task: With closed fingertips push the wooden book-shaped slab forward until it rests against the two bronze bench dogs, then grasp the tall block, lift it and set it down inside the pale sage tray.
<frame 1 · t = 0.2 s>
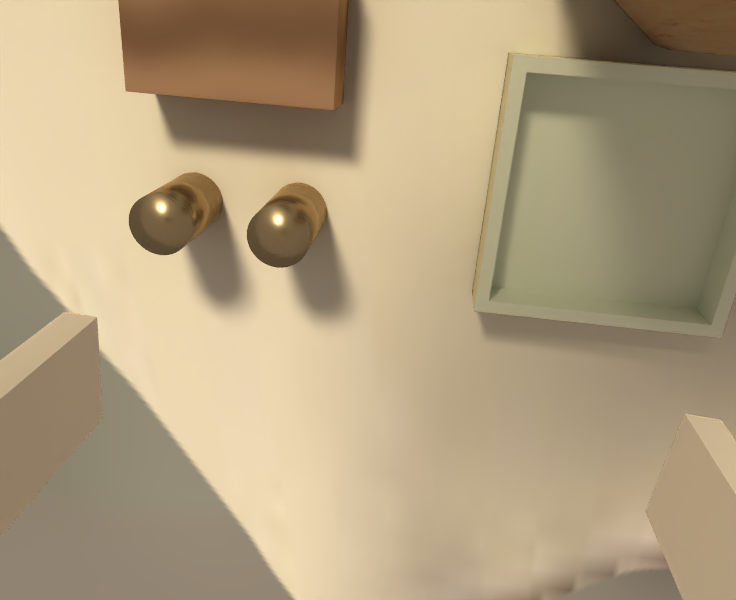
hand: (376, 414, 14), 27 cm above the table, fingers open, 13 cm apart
tray: (611, 193, 39), on the table
wooden book-shaped slab: (248, 23, 37), on the table
bench dogs: (247, 204, 41), on the table
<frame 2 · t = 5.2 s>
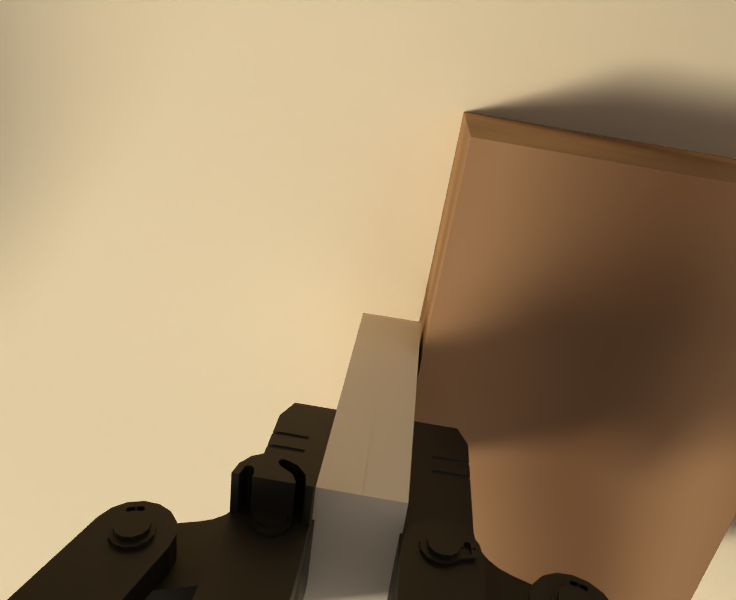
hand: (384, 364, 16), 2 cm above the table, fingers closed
wooden book-shaped slab: (556, 348, 18), on the table, touching gripper
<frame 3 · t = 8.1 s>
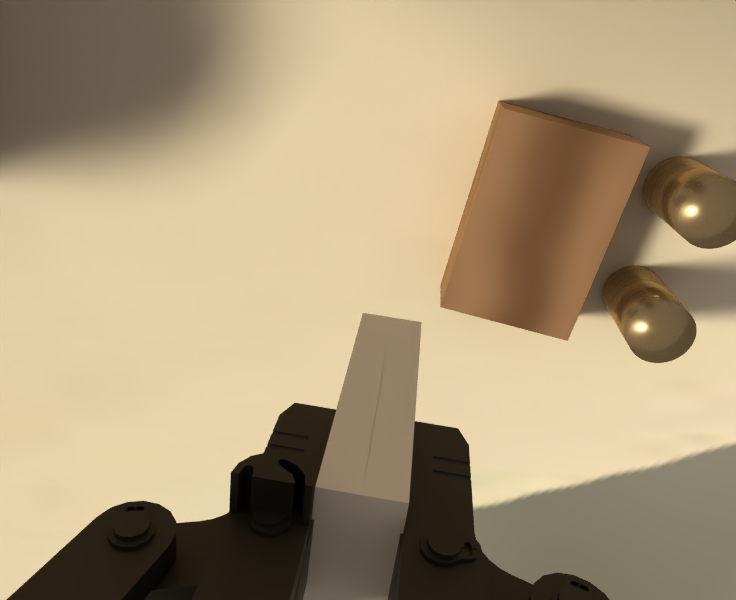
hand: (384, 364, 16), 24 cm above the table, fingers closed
wooden book-shaped slab: (529, 213, 39), on the table
bench dogs: (652, 241, 39), on the table
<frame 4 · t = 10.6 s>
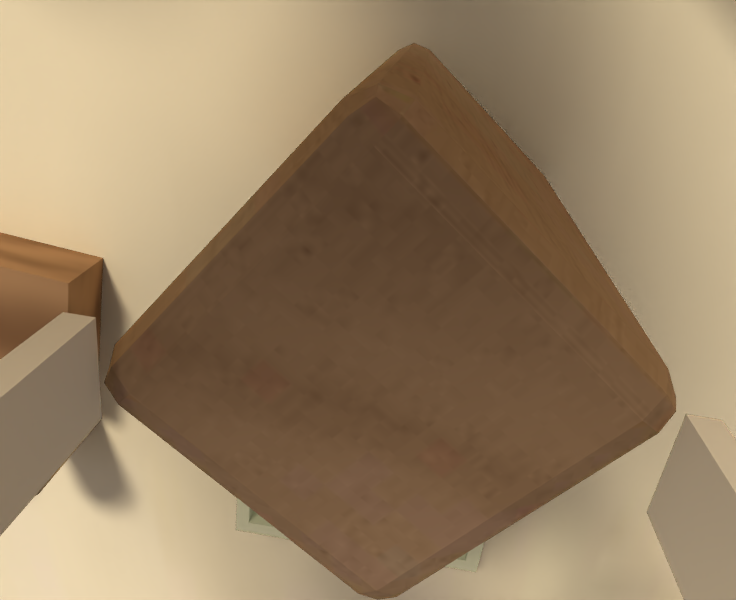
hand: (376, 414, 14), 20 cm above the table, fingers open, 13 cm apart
tray: (374, 423, 38), on the table
block: (412, 182, 32), on the table, touching gripper
wooden book-shaped slab: (6, 292, 38), on the table
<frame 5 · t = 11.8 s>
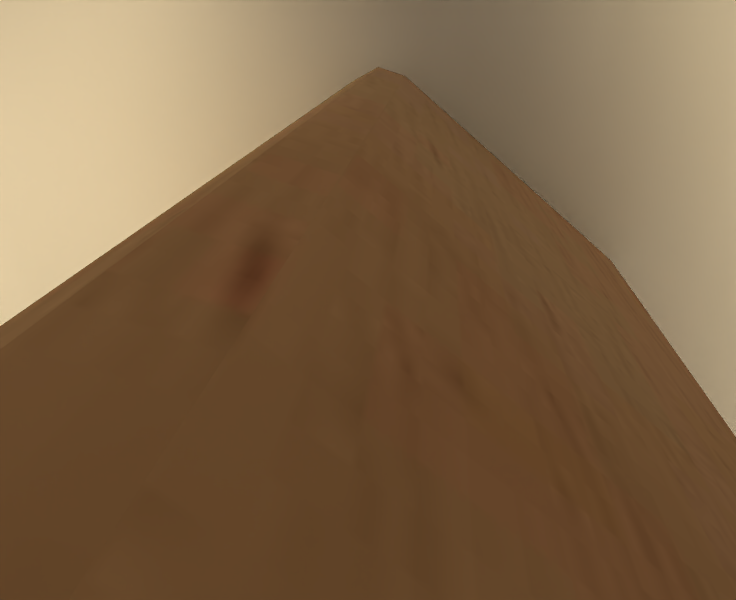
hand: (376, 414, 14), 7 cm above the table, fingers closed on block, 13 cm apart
block: (399, 278, 21), on the table, touching gripper
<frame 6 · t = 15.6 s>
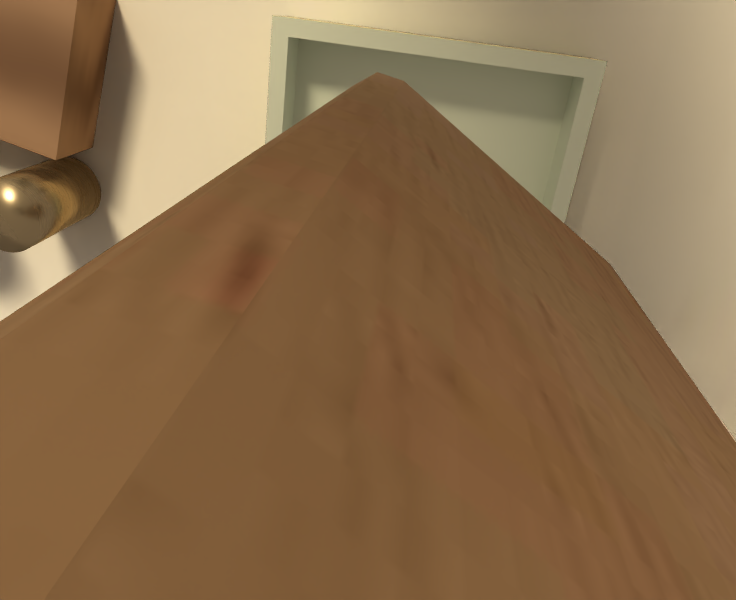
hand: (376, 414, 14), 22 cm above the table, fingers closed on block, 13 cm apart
tray: (414, 187, 34), on the table
block: (399, 282, 21), point 14 cm above the table, touching gripper
bench dogs: (12, 179, 36), on the table
when the fingers open (9 cm above the table, at t = 19.1 s): block stays where it is, resting on tray.
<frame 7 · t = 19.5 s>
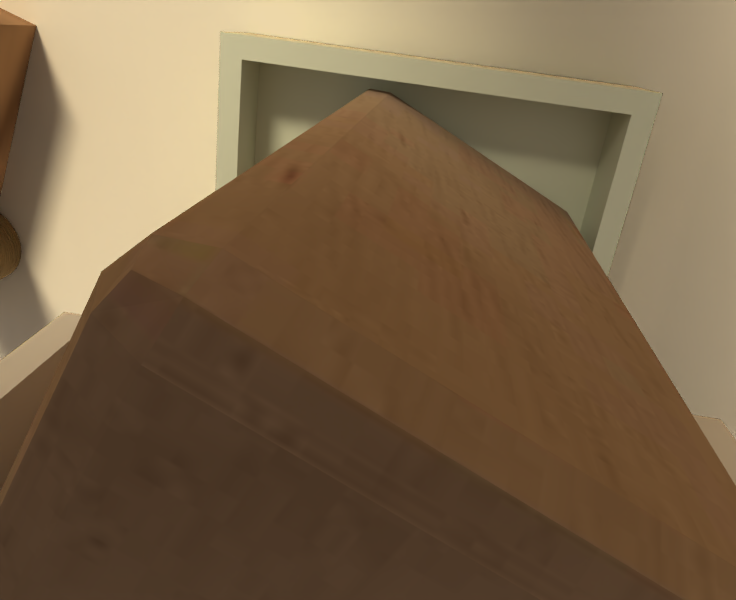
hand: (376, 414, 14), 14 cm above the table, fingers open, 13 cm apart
tray: (408, 245, 27), on the table
block: (408, 248, 26), point 1 cm above the table, touching tray
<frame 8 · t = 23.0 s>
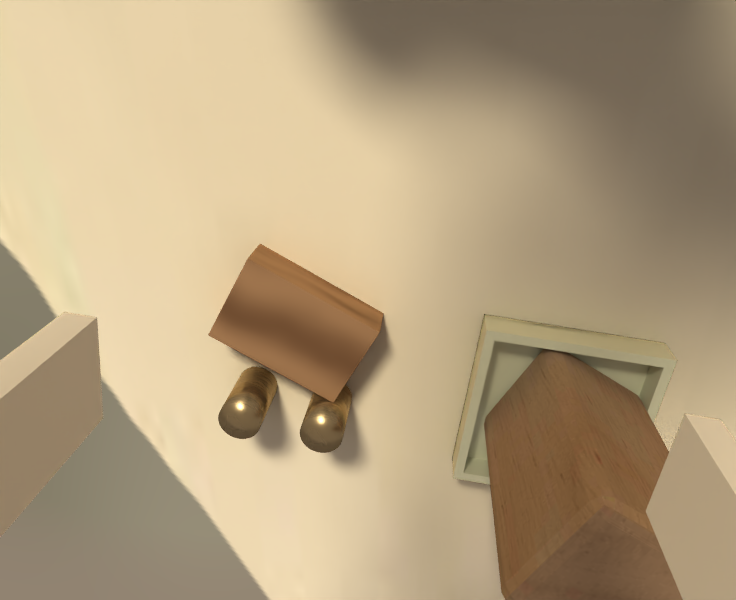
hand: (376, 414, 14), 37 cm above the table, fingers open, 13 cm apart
tray: (551, 403, 55), on the table
block: (558, 405, 55), resting on tray
wooden book-shaped slab: (302, 313, 55), on the table
bench dogs: (295, 389, 58), on the table
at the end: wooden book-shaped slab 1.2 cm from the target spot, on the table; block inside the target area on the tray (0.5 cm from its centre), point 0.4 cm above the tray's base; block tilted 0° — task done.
